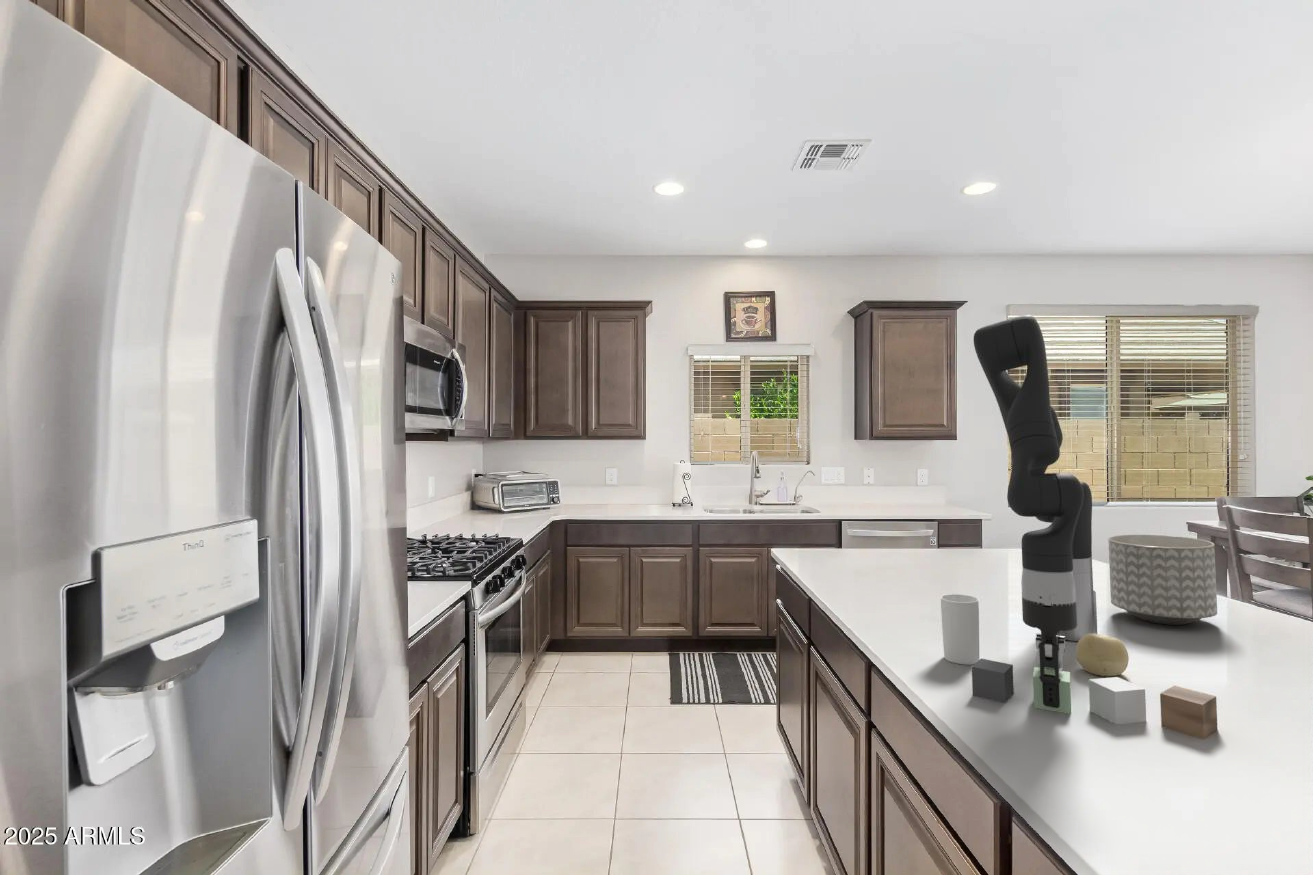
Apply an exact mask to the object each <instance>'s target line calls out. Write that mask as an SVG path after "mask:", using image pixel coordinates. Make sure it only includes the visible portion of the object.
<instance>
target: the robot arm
mask: <svg viewBox="0 0 1313 875" xmlns="http://www.w3.org/2000/svg"><path fill="white" fill-rule="evenodd" d="M1045 344H1046V343H1045V340H1044V335H1043V333H1042V330H1041V327H1040V324H1039V322H1038V321H1037V319H1036V318H1035V317H1034V316H1033V315H1031V314H1024V315H1019V316H1015V317H1012V318H1009V319H1008V318H1007V319H1005V320H1000V321H997V322H995V323H991V324H989V325H985V326H983V327H980V328H977V330H976V331H975V332H974V334H973V347H974V351H975V353H976V357H977V359H978V362H979V363H980V366H981V368H982V371H983V373H984V375H985V377H986V379H987V381H988V383H989V386H990V388H991V390H992V393H993V395H994V397H995V400H996V402H997V405H998V408H999V412H1000V415H1001V418H1002V422H1003V424H1004V428H1005V430H1006V434H1007V436H1008V437H1007V438H1008V444H1009V446H1010V448H1009V449H1010V452H1011V453H1010V454H1011V470H1010V477H1009V478H1010V479H1009V481H1008V486H1007V487H1008V488H1007V496H1006V499H1007V504H1008V506H1009V508H1010V509H1011V511H1013V512H1014V513H1015V514H1016V515H1017V516H1021V517H1026V518H1030V517H1031V518H1034V517H1035V518H1036V519H1037V520H1038V521H1040V522H1045V523H1049V524H1050V523H1051V524H1050V525H1048V526H1047V527H1045V528H1040V529H1036V530H1031V531H1027V532H1025V533H1024V534H1023V535H1022V537H1021V564H1022V565H1021V566H1022V568H1021V570H1022V571H1021V582H1020V583H1021V584H1020V585H1021V606H1022V608H1021V609H1022V610H1021V612H1022V613H1021V614H1022V621H1023V623H1024V624H1025V625H1026V626H1028V627H1031V628H1034V629H1038V630H1039V631H1040V633H1036V634H1035V648H1036V652H1037V653H1036V654H1037V656H1036V657H1037V659H1036V661H1037V666H1038V668H1040V676H1039V679H1040V680H1041V682H1042V688H1043V704H1044V705H1045V706H1047V707H1053V708H1059V706H1060V697H1059V685H1060V682H1061V679H1060V678H1059V672H1060V671H1064V658H1065V657H1064V656H1065V647H1066V644H1065V643H1066V641H1074V642H1079V640H1080V639H1081V638H1082V637H1083V636H1085V635H1087V634H1098V612H1097V592H1096V591H1095V590H1094V577H1093V574H1094V573H1093V572H1094V571H1093V555H1092V554H1093V552H1092V546H1093V543H1092V542H1093V539H1092V537H1093V536H1092V535H1093V534H1092V525H1093V524H1092V523H1093V522H1092V518H1093V517H1092V516H1093V497H1092V490H1091V488H1090V485H1089V484H1088V483H1086V481H1085V482H1084V481H1080V480H1079V479H1078V477H1076V476H1075V475H1074V474H1072V473H1066V472H1055V473H1053V472H1051V473H1049V472H1047V470H1048V467H1049V466H1051V465H1053V464H1055V463H1056V462H1057V461H1058V460H1059V458H1060V455H1061V451H1060V448H1061V446H1062V444H1063V431H1062V428H1061V426H1060V422H1059V419H1058V415H1057V412H1056V410H1055V408H1053V406H1052V405H1051V399H1050V395H1051V394H1050V384H1049V383H1050V380H1049V379H1050V378H1049V371H1048V358H1047V352H1046V345H1045ZM1025 366H1027V367H1026V374H1025V378H1024V380H1023V383H1022V384H1021V385H1020V384H1019V383H1018V382H1017V381H1015V380H1014V379H1013V377H1011V376H1010V374H1009V373H1008V371H1009V370H1014V369H1018V368H1021V367H1025ZM1046 472H1047V473H1046ZM1045 669H1052V670H1055V675H1048V674H1045Z"/></svg>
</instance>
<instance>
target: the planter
mask: <svg viewBox="0 0 1313 875" xmlns="http://www.w3.org/2000/svg"><path fill="white" fill-rule="evenodd" d="M1107 540H1108V542H1107V543H1108V560H1109V561H1108V562H1109V564H1108V565H1109V566H1108V567H1109V586H1110V588H1109V589H1110V592H1109V593H1110V603H1111V605H1113V606H1114V607H1117V608H1119V609H1121V610H1124V611H1125V612H1127V613H1129V614H1130V615H1132V616H1134V617H1136V618H1138V619H1140V620H1143V621H1145V622H1148V623H1153V624H1158V625H1168V626H1181V625H1182V626H1183V625H1187V624H1191V623H1194V622H1195V623H1196V622H1198V621H1199V620H1201V619H1206V618H1211V617H1215V616H1217V615H1218V597H1217V577H1216V576H1217V572H1216V571H1217V570H1216V551H1215V550H1216V548H1215V547H1216V546H1215V543H1214V542H1212V541H1209V540H1206V539H1201V538H1196V537H1195V538H1194V537H1188V536H1187V537H1186V536H1179V535H1178V536H1176V535H1167V534H1165V535H1164V534H1163V535H1162V534H1119V535H1112V536H1109V537H1108V539H1107Z"/></svg>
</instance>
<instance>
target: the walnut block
mask: <svg viewBox="0 0 1313 875" xmlns="http://www.w3.org/2000/svg"><path fill="white" fill-rule="evenodd" d="M1159 698H1160V701H1159V702H1160V721H1161V724H1160V725H1161V727H1162V728H1164V729H1168V730H1171V731H1175V732H1177V733H1182V734H1184V735H1188V736H1191V737H1194V738H1196V739H1197V738H1198V739H1201V740H1205V739H1208V738H1209V737H1210V736H1211V735H1212V734H1215V733H1216V732H1217V731H1218V710H1217V709H1218V706H1217V705H1218V704H1217V695H1213V694H1208V693H1205V692H1201V691H1197V690H1194V689H1193V690H1192V689H1190V688H1187V687H1181V686H1177V685H1173V686H1171V687H1169V688H1167V689H1166V690H1164V691H1162V692H1160V693H1159Z"/></svg>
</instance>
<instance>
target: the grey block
mask: <svg viewBox="0 0 1313 875" xmlns="http://www.w3.org/2000/svg"><path fill="white" fill-rule="evenodd" d="M1088 695H1089V696H1088V697H1089V698H1088V700H1089V711H1090V712H1092V713H1094V714H1096V715H1098V716H1100V717H1101V718H1103V719H1104V720H1106V721H1109V722H1111V723H1112V724H1114V725H1125V724H1127V725H1128V724H1136V723H1137V724H1138V723H1146V722H1147V709H1146V708H1147V707H1146V706H1147V705H1146V704H1147V703H1146V702H1147V701H1146V689H1145V688H1144V687H1141V686H1138V685H1136V684H1134V683H1132V682H1129V681H1127V680H1125V679H1124V678H1121V677H1118V676H1111V677H1105V678H1104V677H1101V678H1090V679H1088Z"/></svg>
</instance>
